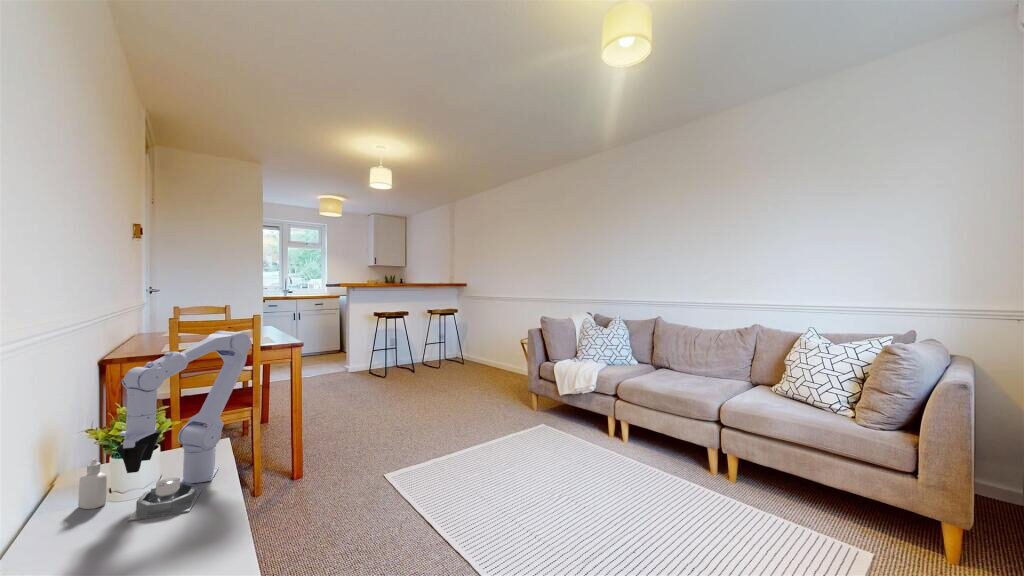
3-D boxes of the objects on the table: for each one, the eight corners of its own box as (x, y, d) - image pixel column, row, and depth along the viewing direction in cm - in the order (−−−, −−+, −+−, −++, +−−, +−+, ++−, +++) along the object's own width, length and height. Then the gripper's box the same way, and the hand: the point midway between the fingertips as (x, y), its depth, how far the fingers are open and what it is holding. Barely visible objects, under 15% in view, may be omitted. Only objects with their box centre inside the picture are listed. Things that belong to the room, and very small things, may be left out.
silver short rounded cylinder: (181, 497, 108) (182, 476, 108) (175, 506, 104) (176, 484, 104) (154, 500, 106) (155, 479, 106) (146, 509, 102) (148, 487, 102)
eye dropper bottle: (100, 498, 107) (102, 453, 107) (107, 505, 104) (109, 458, 104) (76, 505, 103) (79, 458, 103) (82, 513, 100) (84, 464, 100)
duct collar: (147, 497, 108) (147, 486, 108) (202, 490, 113) (202, 479, 113) (127, 521, 97) (127, 509, 97) (189, 511, 102) (189, 500, 102)
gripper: (133, 407, 110) (131, 457, 110) (107, 423, 97) (105, 480, 97) (166, 405, 113) (164, 453, 113) (145, 420, 100) (143, 475, 100)
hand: (139, 465), depth 105 cm, fingers open, 7 cm apart
